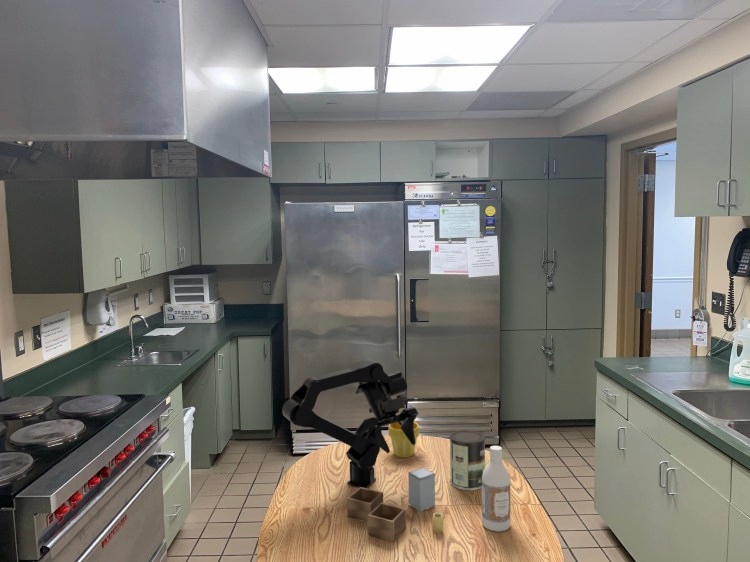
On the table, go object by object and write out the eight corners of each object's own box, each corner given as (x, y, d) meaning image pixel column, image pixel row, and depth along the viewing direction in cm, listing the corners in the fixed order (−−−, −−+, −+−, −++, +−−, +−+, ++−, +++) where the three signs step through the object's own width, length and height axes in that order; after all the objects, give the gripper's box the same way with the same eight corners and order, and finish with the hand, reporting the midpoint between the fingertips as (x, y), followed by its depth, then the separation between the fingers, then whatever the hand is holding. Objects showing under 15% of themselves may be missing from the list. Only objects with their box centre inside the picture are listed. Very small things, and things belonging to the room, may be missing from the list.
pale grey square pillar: (408, 504, 144) (408, 472, 143) (423, 498, 147) (422, 467, 146) (420, 511, 140) (420, 478, 139) (435, 505, 143) (434, 473, 142)
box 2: (368, 534, 130) (367, 515, 129) (381, 521, 136) (381, 502, 135) (393, 542, 126) (393, 522, 126) (406, 528, 132) (405, 508, 132)
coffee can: (485, 476, 160) (485, 430, 159) (485, 492, 150) (485, 443, 149) (450, 473, 162) (450, 428, 161) (448, 489, 152) (448, 441, 151)
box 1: (347, 516, 138) (347, 498, 138) (360, 504, 144) (360, 486, 144) (370, 523, 135) (370, 504, 134) (383, 510, 141) (383, 492, 141)
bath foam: (489, 534, 129) (489, 454, 127) (477, 519, 136) (477, 443, 134) (515, 530, 130) (515, 451, 129) (502, 516, 137) (502, 441, 136)
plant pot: (425, 452, 179) (425, 424, 178) (405, 462, 171) (405, 432, 170) (402, 444, 186) (402, 417, 185) (382, 453, 178) (381, 425, 177)
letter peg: (431, 530, 131) (430, 514, 131) (438, 527, 133) (438, 511, 132) (437, 534, 129) (437, 518, 129) (444, 531, 131) (444, 515, 130)
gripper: (362, 391, 146) (387, 442, 138) (414, 380, 157) (440, 426, 149) (347, 412, 153) (370, 462, 145) (397, 399, 164) (422, 445, 156)
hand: (401, 448), depth 148 cm, fingers open, 9 cm apart
